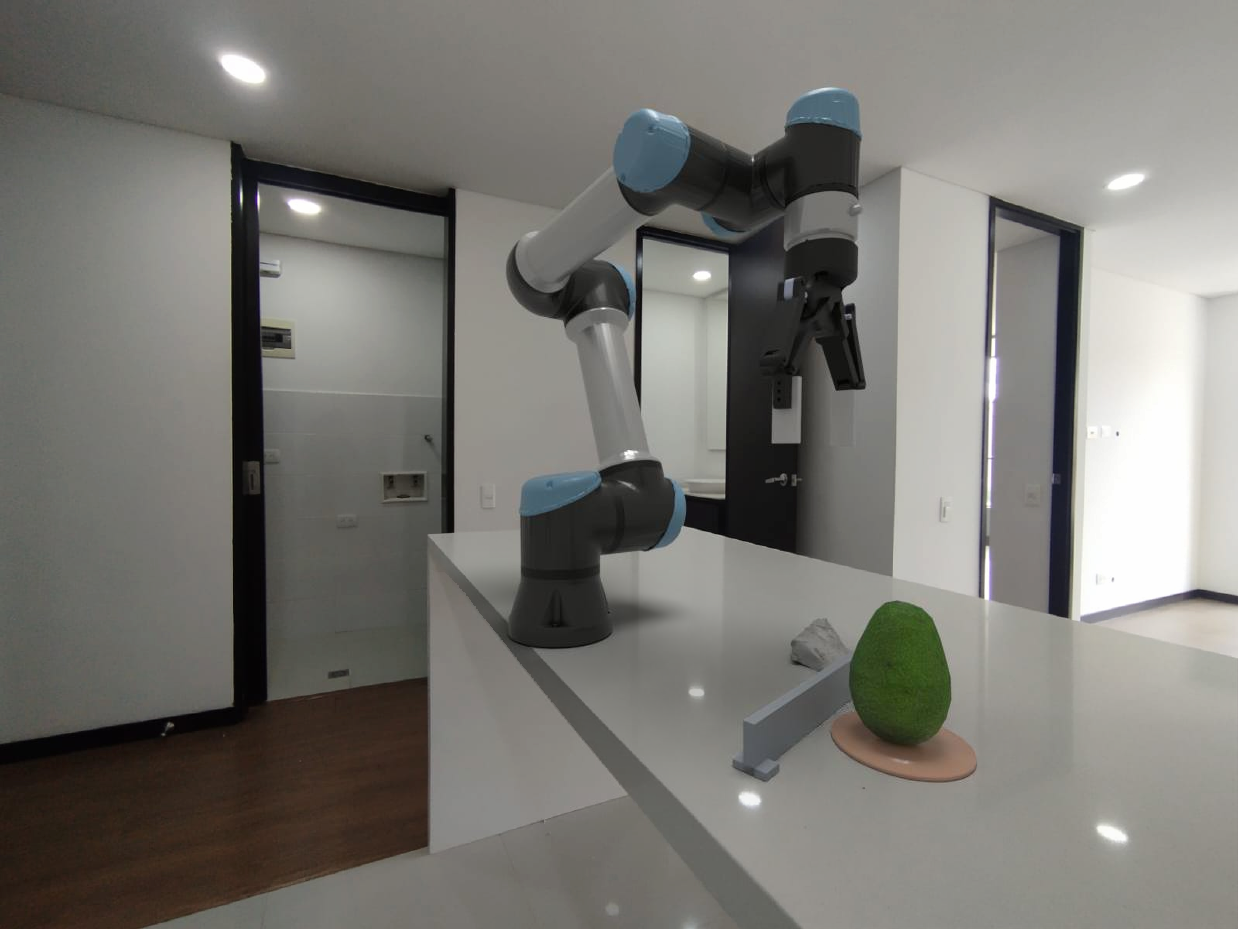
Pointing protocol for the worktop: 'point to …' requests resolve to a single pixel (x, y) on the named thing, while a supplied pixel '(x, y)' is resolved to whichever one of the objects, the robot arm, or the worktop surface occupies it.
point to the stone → (818, 646)
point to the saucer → (905, 752)
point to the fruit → (901, 675)
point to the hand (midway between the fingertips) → (816, 445)
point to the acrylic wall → (792, 718)
